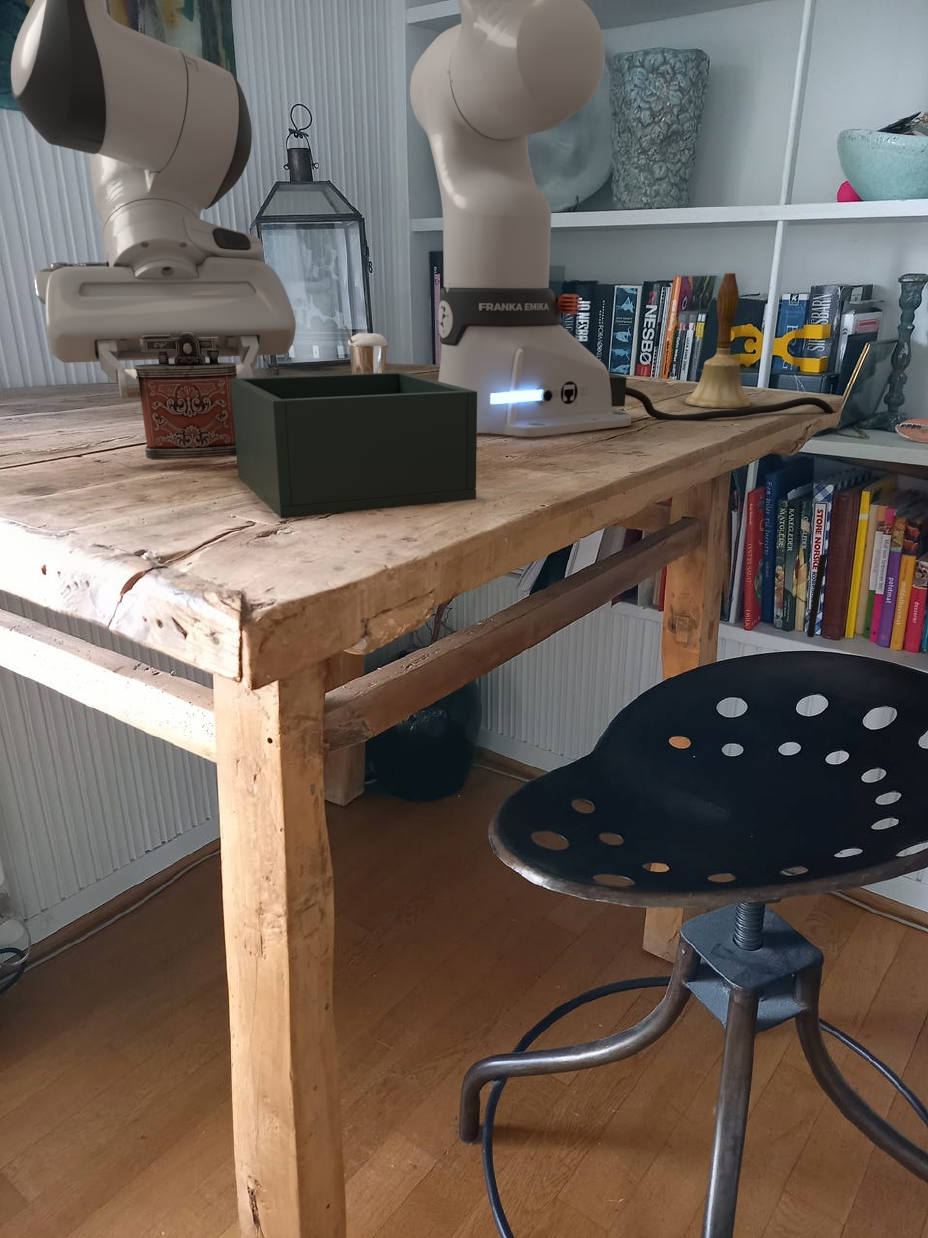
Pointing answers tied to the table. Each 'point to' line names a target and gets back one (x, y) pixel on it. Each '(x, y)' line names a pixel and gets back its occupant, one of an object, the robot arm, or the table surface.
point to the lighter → (186, 399)
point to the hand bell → (722, 358)
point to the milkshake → (367, 353)
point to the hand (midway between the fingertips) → (189, 390)
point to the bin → (354, 441)
